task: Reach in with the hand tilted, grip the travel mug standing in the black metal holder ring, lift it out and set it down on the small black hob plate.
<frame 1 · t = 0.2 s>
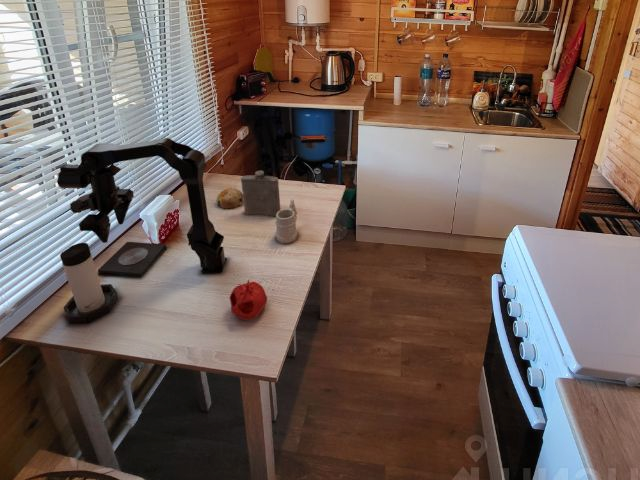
hand: (113, 232, 115), 14 cm above the table, tool pointing down, fingers open, 9 cm apart
flask: (263, 213, 150), on the table
pomegranate: (249, 310, 106), on the table
holder ring: (92, 306, 106), on the table
travel mug: (93, 307, 106), resting in holder ring
hob plate: (134, 260, 124), on the table
bread roll: (230, 203, 157), on the table
mug: (289, 234, 138), on the table
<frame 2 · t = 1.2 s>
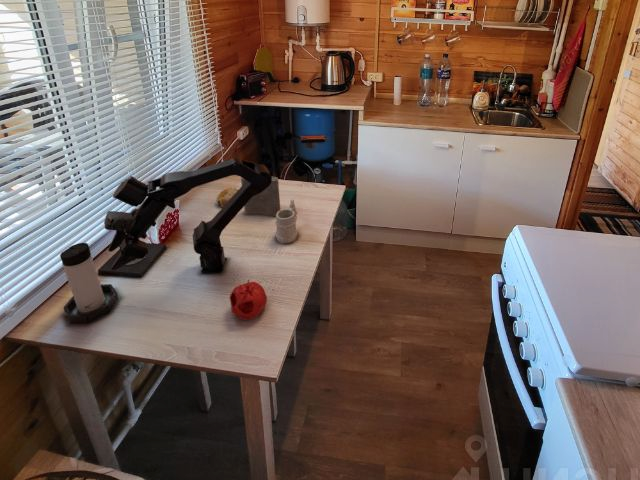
hand: (111, 260, 105), 13 cm above the table, tool tilted 45°, fingers open, 9 cm apart
nothing on the table moved.
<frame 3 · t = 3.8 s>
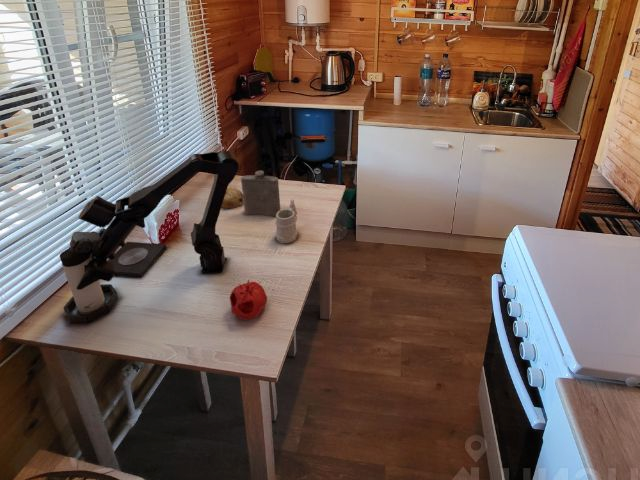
hand: (78, 281, 102), 10 cm above the table, tool tilted 45°, fingers closed on travel mug, 6 cm apart
travel mug: (93, 307, 106), resting in holder ring, touching gripper
everything else where it was.
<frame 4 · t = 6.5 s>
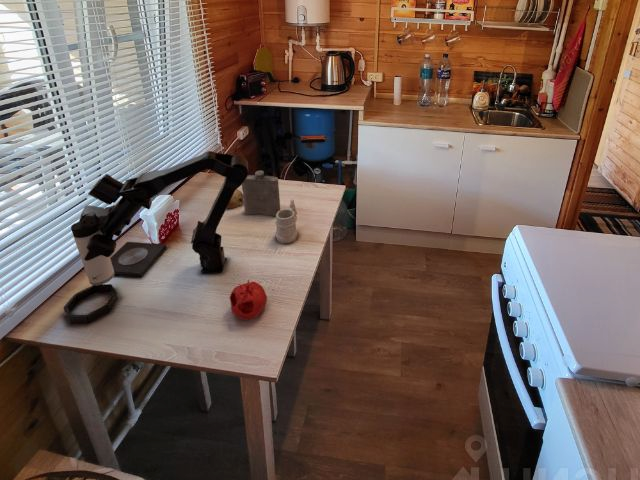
hand: (88, 252, 108), 13 cm above the table, tool tilted 45°, fingers closed on travel mug, 6 cm apart
travel mug: (103, 278, 112), point 4 cm above the table, touching gripper
everything else where it was.
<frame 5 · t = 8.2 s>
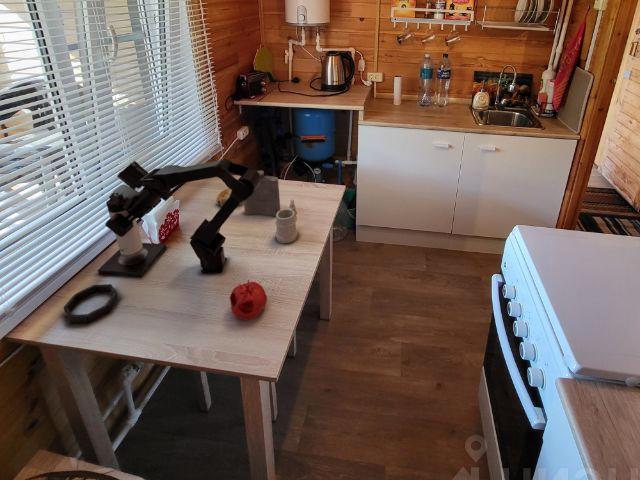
hand: (121, 226, 120), 13 cm above the table, tool tilted 45°, fingers closed on travel mug, 6 cm apart
travel mug: (132, 252, 123), point 3 cm above the table, touching gripper
everything else where it was.
when the fingers open (11 cm above the table, at t = 9.4 s): travel mug stays where it is, resting on hob plate.
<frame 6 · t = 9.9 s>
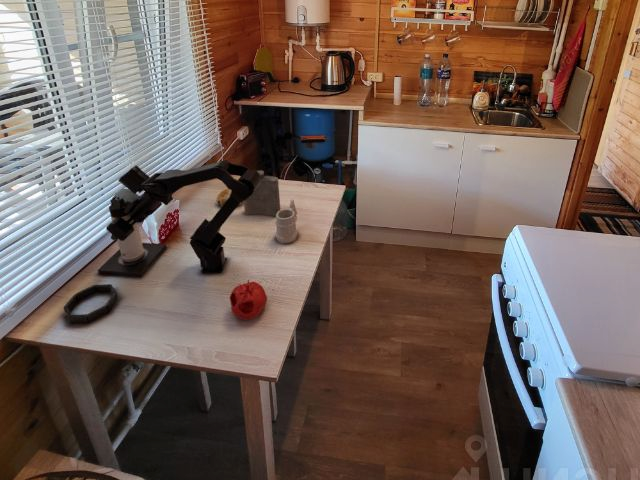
hand: (122, 229, 120), 12 cm above the table, tool tilted 45°, fingers open, 9 cm apart
travel mug: (133, 256, 124), point 2 cm above the table, touching gripper, hob plate
everything else where it was.
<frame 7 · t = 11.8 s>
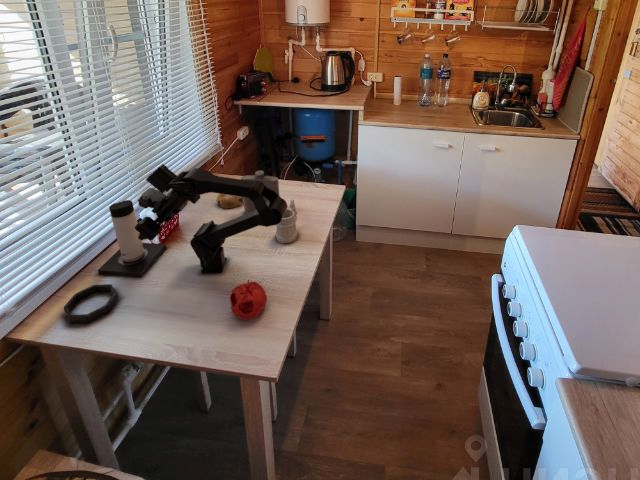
hand: (148, 229, 119), 13 cm above the table, tool tilted 45°, fingers open, 9 cm apart
travel mug: (133, 256, 124), point 2 cm above the table, touching hob plate
everything else where it was.
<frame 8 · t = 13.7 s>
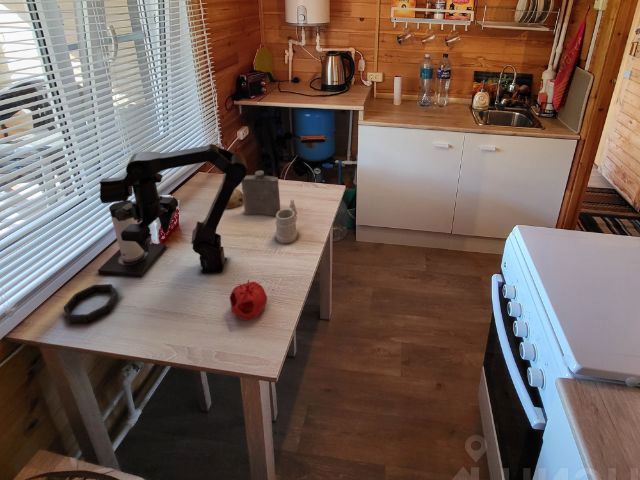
hand: (156, 241, 113), 13 cm above the table, tool pointing down, fingers open, 9 cm apart
nothing on the table moved.
at the end: travel mug inside the target area on the hob plate (0.2 cm from its centre), point 1.5 cm above the hob plate's base; travel mug tilted 0°; the gripper is holding nothing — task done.
